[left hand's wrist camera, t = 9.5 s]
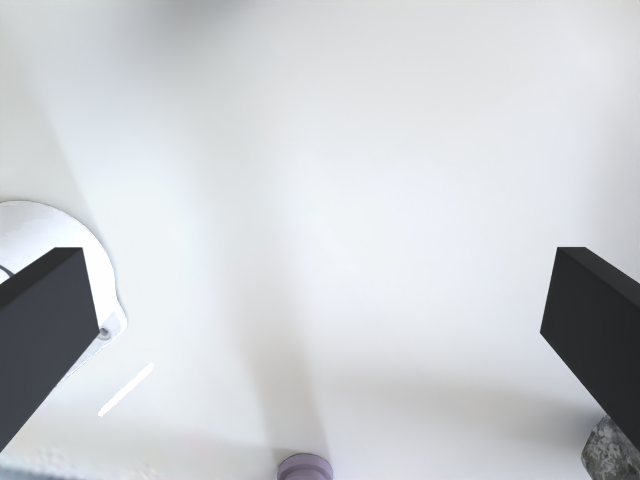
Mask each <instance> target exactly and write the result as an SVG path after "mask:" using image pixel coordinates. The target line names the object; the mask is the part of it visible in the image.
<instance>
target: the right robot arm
mask: <svg viewBox="0 0 640 480" xmlns="http://www.w3.org/2000/svg"><path fill="white" fill-rule="evenodd" d="M54 247H83V252H84V256H85V261H86V266H87V271H88V276H89V281H90V286H91V291H92V295H93V300H94V305H95V310H96V315H97V320H98V325H99V330H100V334H99V335H98V336H97V337H96V338H95V340H94V341H93V342H92V343H91V344H90V346H89V347H88V348H87V349H86V350H85V352H84V353H83V354H82V355H81V356H80V358H79V359H78V360H77V361H76V362H75V364H74V365H73V366H72V367H71V368H70V370H69V371H68V372H67V373H66V374H65V376H64V377H63V378H62V379H61V380H60V382H61V381H63V380H64V379H65V378H66V377H68V376H69V375H70V374H71V373H73V372H74V371H75V370H76V369H77V368H79V367H80V366H81V365H82V364H84V363H85V362H86V361H87V360H89V359H90V358H91V357H92V356H94V355H95V354H96V353H97V352H98V351H100V350H101V349H102V348H103V347H105V346H106V345H107V344H108V343H110V342H111V341H112V340H113V339H115V338H116V337H117V336H118V335H119V334H121V333H122V332H123V331H124V330H125V328H126V327H127V319H126V316H125V314H124V312H123V310H122V308H121V306H120V304H119V302H118V301H117V297H116V291H115V278H114V273H113V269H112V265H111V263H110V260H109V258H108V256H107V254H106V252H105V250H104V248H103V247H102V245H101V244H100V242H99V241H98V240H97V239H96V237H95V236H94V235H93V234H92V233H91V232H90V231H89V230H88V229H87V228H86V227H85V226H84V225H82V224H81V223H80V222H79V221H77V220H76V219H74V218H73V217H71V216H70V215H68V214H66V213H64V212H63V211H61V210H58V209H56V208H54V207H51V206H48V205H45V204H41V203H37V202H32V201H6V202H1V203H0V284H1V283H2V282H4V281H5V280H7V279H8V278H10V277H11V276H13V275H14V274H16V273H17V272H19V271H20V270H22V269H23V268H25V267H26V266H28V265H29V264H31V263H32V262H33V261H35V260H36V259H38V258H39V257H41V256H42V255H44V254H45V253H47V252H48V251H50V250H51V249H53V248H54ZM103 328H104V329H106V330H107V331H108V332H106V331H104V330H103ZM152 367H153V365H152V364H150V365H149V366H148V367H147V368H145V369H144V370H143V371H142V372H141V373H140V374H139V375H138V376H137V377H136V378H135V379H134V380H132V381H131V382H130V383H129V384H128V385H127V386H126V387H125V388H124V389H123V390H122V391H121V392H119V393H118V394H117V395H116V396H115V397H114V398H113V399H112V400H111V401H110V402H109V403H108V404H107V405H105V406H104V407H103V408H102V410H101V411H100V413H99V415H100V416H102V415H103V414H104V413H105V412H106V411H107V410H109V409H110V408H111V407H112V406H113V405H114V404H115V403H116V402H117V401H118V400H119V399H120V398H122V397H123V396H124V395H125V394H126V393H127V392H128V391H129V390H130V389H131V388H132V387H134V386H135V385H136V384H137V383H138V382H139V381H140V380H141V379H142V378H143V377H144V376H146V375H147V374H148V373H149V372H150V371H151V369H152ZM60 382H59V383H60ZM59 383H58V384H59ZM58 384H57V385H58ZM57 385H56V386H55V388H56V387H57ZM55 388H54V389H55ZM54 389H53V390H54ZM53 390H52V391H53ZM52 391H51V392H52ZM51 392H50V393H51Z"/></svg>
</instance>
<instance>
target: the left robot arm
mask: <svg viewBox="0 0 640 480" xmlns="http://www.w3.org/2000/svg"><path fill="white" fill-rule="evenodd" d="M99 334H100V330H99V325H98V320H97V315H96V310H95V305H94V300H93V295H92V291H91V286H90V281H89V276H88V271H87V266H86V261H85V256H84V252H83V247H54V248H53V249H51V250H50V251H48V252H47V253H45V254H44V255H42V256H41V257H39V258H38V259H36V260H35V261H33V262H32V263H31V264H29V265H28V266H26V267H25V268H23V269H22V270H20V271H19V272H17V273H16V274H14V275H13V276H11V277H10V278H8V279H7V280H5V281H4V282H2V283H1V284H0V453H1V451H2V450H3V449H4V448H5V447H6V445H7V444H8V443H9V442H10V441H11V439H12V438H13V437H14V436H15V435H16V433H17V432H18V431H19V430H20V429H21V427H22V426H23V425H24V424H25V423H26V421H27V420H28V419H29V418H30V416H31V415H32V414H33V413H34V412H35V410H36V409H37V408H38V407H39V406H40V404H41V403H42V402H43V401H44V400H45V398H46V397H47V396H48V395H49V394H50V392H51V391H52V390H53V389H54V388H55V386H56V385H57V384H58V383H59V382H60V380H61V379H62V378H63V377H64V376H65V374H66V373H67V372H68V371H69V370H70V368H71V367H72V366H73V365H74V364H75V362H76V361H77V360H78V359H79V358H80V356H81V355H82V354H83V353H84V352H85V350H86V349H87V348H88V347H89V346H90V344H91V343H92V342H93V341H94V340H95V338H96V337H97V336H98V335H99ZM540 334H541V335H542V336H543V337H544V338H545V340H546V341H547V342H548V343H549V344H550V346H551V347H552V348H553V349H554V350H555V352H556V353H557V354H558V355H559V356H560V358H561V359H562V360H563V361H564V362H565V364H566V365H567V366H568V367H569V368H570V370H571V371H572V372H573V373H574V374H575V376H576V377H577V378H578V379H579V380H580V382H581V383H582V384H583V385H584V386H585V388H586V389H587V390H588V391H589V392H590V394H591V395H592V396H593V397H594V398H595V400H596V401H597V402H598V403H599V404H600V406H601V407H602V408H603V409H604V410H605V412H606V413H607V414H608V415H609V417H610V418H611V419H612V420H613V421H614V423H615V424H616V425H617V426H618V427H619V429H620V430H621V431H622V432H623V433H624V435H625V436H626V437H627V438H628V439H629V441H630V442H631V443H632V444H633V445H634V447H635V448H636V449H637V450H638V451H639V453H640V284H639V283H638V282H636V281H635V280H633V279H632V278H630V277H629V276H627V275H626V274H624V273H623V272H621V271H620V270H618V269H617V268H615V267H614V266H612V265H611V264H609V263H608V262H607V261H605V260H604V259H602V258H601V257H599V256H598V255H596V254H595V253H593V252H592V251H590V250H589V249H587V248H586V247H557V252H556V256H555V261H554V266H553V271H552V276H551V281H550V286H549V291H548V295H547V300H546V305H545V310H544V315H543V320H542V325H541V329H540Z"/></svg>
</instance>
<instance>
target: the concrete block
mask: <svg viewBox="0 0 640 480" xmlns="http://www.w3.org/2000/svg"><path fill="white" fill-rule="evenodd" d="M581 460H582V463H583V466H584V467H585V469H586V470H587V472H588V474H589V475H590V477H591V478H592V480H640V453H639V451H638V450H637V449H636V448H635V447H634V445H633V444H632V443H631V442H630V441H629V439H628V438H627V437H626V436H625V435H624V433H623V432H622V431H621V430H620V429H619V427H618V426H617V425H616V424H615V423H614V421H613V420H612V419H611V418H610V417H609V416H605V417H604V418H603V419H602V420H601V421H600V422H599V423H598V424H597V425H596V426H595V427H594V428H593V430H592V431H591V435H590V437H589V438H588V441H587V443H586V445H585V447H584V450H583V452H582V454H581Z"/></svg>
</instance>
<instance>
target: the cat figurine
mask: <svg viewBox="0 0 640 480" xmlns="http://www.w3.org/2000/svg"><path fill="white" fill-rule="evenodd" d="M277 480H333V471H332V469H331V467H330V465H329V464H328V463H327V462H326V461H325V460H324V459H322V458H320V457H318V456H315V455H310V454H299V455H295V456H292V457H290V458H288V459H287V460H285V461H284V462H283V463H282V464H281V466H280V467H279V471H278V476H277Z"/></svg>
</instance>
